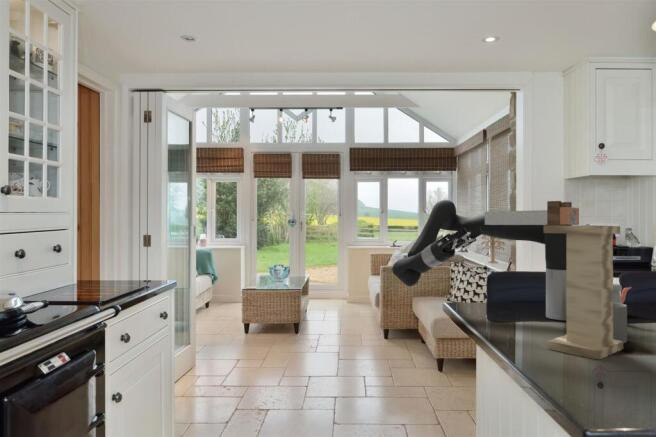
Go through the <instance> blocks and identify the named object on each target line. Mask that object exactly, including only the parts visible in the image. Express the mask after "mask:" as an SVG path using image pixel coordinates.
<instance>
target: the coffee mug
mask: <svg viewBox="0 0 656 437" xmlns="http://www.w3.org/2000/svg"><path fill="white" fill-rule="evenodd" d="M613 340H619V341H623V344H625V343H627V342H628V305H627V304H624V303H622V304H621V303H615V302H613Z"/></svg>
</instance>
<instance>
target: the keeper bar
mask: <svg viewBox="0 0 656 437" xmlns="http://www.w3.org/2000/svg"><path fill="white" fill-rule="evenodd" d="M484 214H485V225H547V209H541V210H501V211H496V210H495V211H484ZM559 225H572V226H580V208H579V207H573V206H572V207H559Z"/></svg>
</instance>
